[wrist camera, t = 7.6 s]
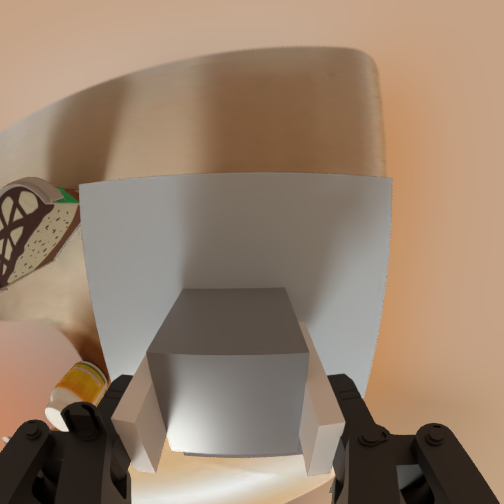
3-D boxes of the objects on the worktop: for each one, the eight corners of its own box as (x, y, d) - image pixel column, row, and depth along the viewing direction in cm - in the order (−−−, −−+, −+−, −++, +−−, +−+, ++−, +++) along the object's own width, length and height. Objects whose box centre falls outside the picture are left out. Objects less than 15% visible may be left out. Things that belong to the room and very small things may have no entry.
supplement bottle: (109, 396, 32) (83, 444, 22) (76, 384, 31) (45, 426, 22) (107, 366, 31) (74, 414, 21) (72, 354, 30) (35, 395, 21)
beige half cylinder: (75, 153, 25) (15, 145, 16) (106, 193, 26) (49, 198, 17) (22, 231, 27) (-34, 248, 17) (48, 269, 28) (-6, 296, 18)
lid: (131, 414, 17) (100, 487, 10) (89, 184, 14) (-1, 188, 7) (351, 413, 18) (383, 487, 11) (382, 178, 14) (471, 177, 7)
